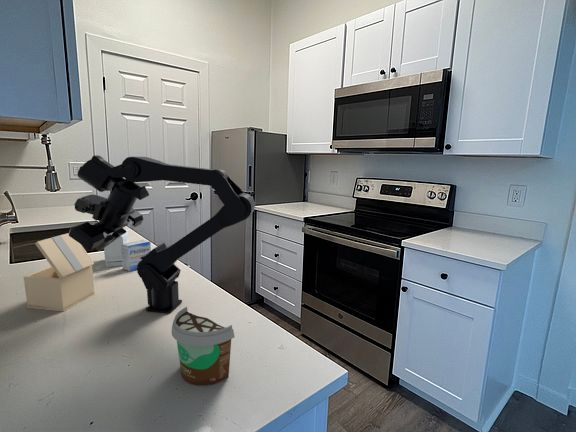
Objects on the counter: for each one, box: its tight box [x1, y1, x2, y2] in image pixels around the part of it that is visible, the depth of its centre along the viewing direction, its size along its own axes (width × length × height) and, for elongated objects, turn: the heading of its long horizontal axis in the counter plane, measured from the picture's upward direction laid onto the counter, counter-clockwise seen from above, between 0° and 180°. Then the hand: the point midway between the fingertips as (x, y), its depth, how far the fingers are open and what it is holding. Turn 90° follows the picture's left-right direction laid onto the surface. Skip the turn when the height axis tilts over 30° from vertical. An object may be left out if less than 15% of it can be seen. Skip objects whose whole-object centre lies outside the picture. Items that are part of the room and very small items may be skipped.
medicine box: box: [121, 239, 152, 272], centre depth 108 cm, size 8×4×9 cm, turn 143°
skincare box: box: [103, 229, 131, 268], centre depth 113 cm, size 10×6×10 cm, turn 15°
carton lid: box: [34, 232, 95, 279], centre depth 80 cm, size 10×10×1 cm
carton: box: [23, 265, 95, 312], centre depth 82 cm, size 10×10×8 cm
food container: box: [170, 306, 235, 387], centre depth 55 cm, size 12×6×10 cm, turn 56°
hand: (98, 249), depth 83 cm, fingers closed
